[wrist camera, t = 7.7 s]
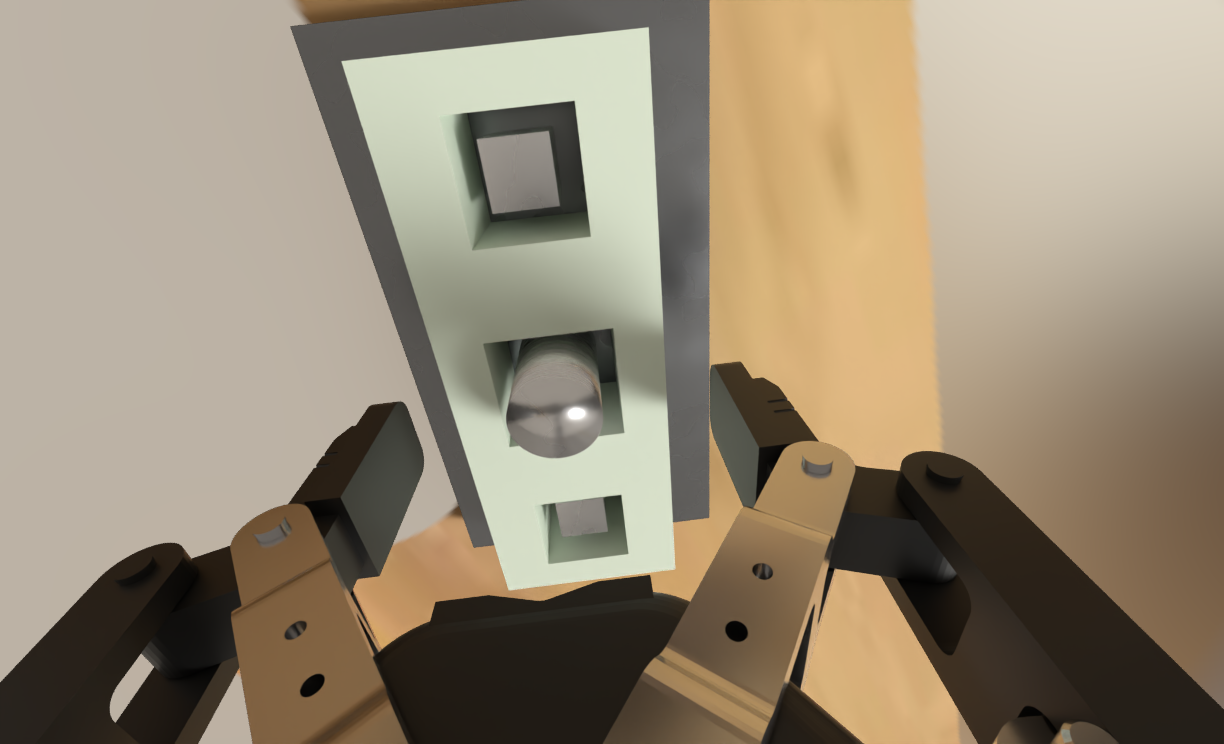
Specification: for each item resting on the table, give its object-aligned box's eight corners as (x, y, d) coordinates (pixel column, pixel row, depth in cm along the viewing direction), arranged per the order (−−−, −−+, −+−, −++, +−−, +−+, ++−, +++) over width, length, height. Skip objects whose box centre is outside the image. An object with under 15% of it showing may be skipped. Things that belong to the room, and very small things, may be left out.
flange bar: (661, 508, 20) (675, 569, 17) (517, 526, 20) (508, 590, 17) (632, 43, 12) (648, 26, 9) (391, 69, 12) (341, 61, 9)
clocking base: (700, 492, 22) (741, 616, 17) (479, 520, 22) (450, 654, 16) (695, -9, 13) (779, -83, 8) (318, 33, 13) (143, -13, 7)
